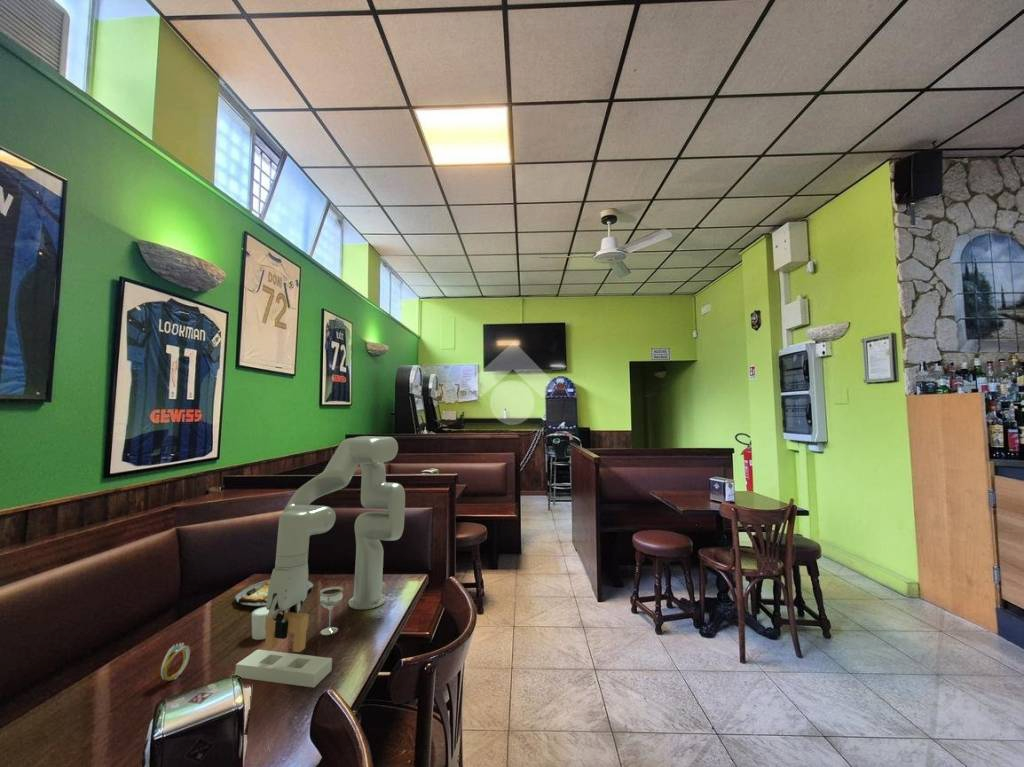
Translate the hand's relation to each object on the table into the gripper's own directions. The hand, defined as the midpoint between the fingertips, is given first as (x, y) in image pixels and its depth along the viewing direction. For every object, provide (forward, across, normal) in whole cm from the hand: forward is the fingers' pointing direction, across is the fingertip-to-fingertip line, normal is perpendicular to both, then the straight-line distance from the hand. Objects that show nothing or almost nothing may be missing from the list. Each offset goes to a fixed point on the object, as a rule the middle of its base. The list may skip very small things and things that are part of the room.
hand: (285, 633), depth 104 cm
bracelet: (+10, +6, -25) cm, 28 cm away
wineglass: (+10, -22, -2) cm, 25 cm away
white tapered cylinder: (+10, -16, -20) cm, 28 cm away
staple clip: (+3, 0, 0) cm, 3 cm away
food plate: (+10, -42, -38) cm, 57 cm away
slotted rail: (+10, 0, 0) cm, 10 cm away
